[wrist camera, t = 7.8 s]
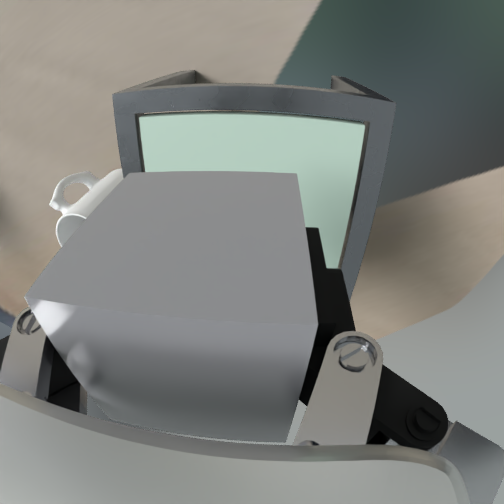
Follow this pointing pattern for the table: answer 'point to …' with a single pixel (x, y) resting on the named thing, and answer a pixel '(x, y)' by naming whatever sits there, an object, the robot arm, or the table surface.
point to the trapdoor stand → (281, 100)
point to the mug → (81, 200)
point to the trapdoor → (267, 157)
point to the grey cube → (188, 303)
